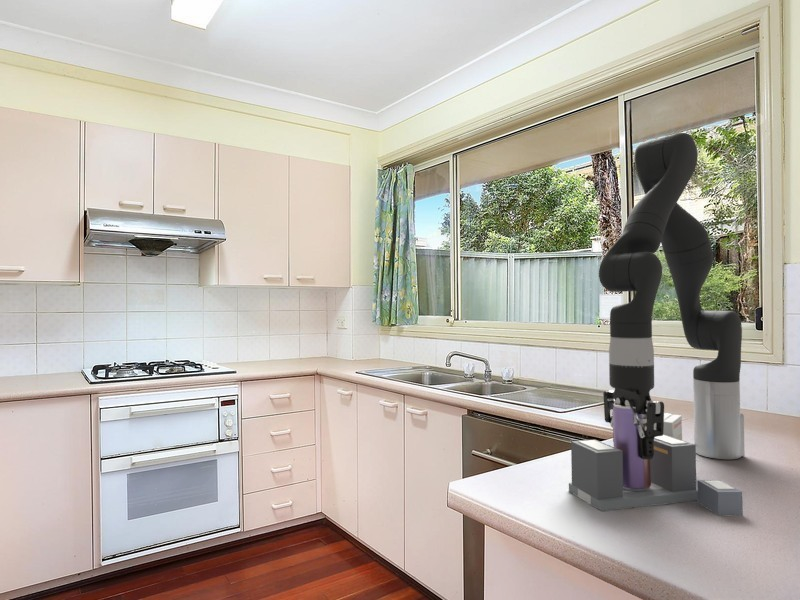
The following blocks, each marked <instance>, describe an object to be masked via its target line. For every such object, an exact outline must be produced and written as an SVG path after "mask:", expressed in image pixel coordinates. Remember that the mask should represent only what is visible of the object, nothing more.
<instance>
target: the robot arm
mask: <svg viewBox="0 0 800 600" xmlns="http://www.w3.org/2000/svg"><path fill="white" fill-rule="evenodd" d="M698 155H699V154H698V147H697V145H696V142H695V140H694V138H693V137H692V136H691V135H690V134H689V133H687V132H677V133H673V134H669V135H666V136H662V137H659V138H658V137H657V138H655V139H651V140H649V141H645V142H642V143H640V144H638V145H637V146H636V148H635V151H634V156H633V157H634V158H633V159H634V167H635V172H636V174H637V177H638V179H639V182H640V185H641V187H642V190H643V193H644V195H643V196H642V197H641V198H640V199H639V200H638V202H636V204H635V205H634V206H633V208H632V209H631V211H630V213H629V215H628V217H627V219H626V223H625V225H624V227H623V230H622V233H621V235H620V236H619V237H618V238H617V240H616V241H615V242H614V244H612V245H611V247H610V248H609V250H607V252H606V254H604V256H603V258H602V260H601V262H600V265H599V269H598V280H599V282H600V285H601V286H602V287H603V288H604V289H605V290H606V291H609V292H615V293H616V292H617V293H618V292H635V294H634V296H633V298H632V299H631V301H629V302H626V303H623V304H618V305H615V306H612V308H611V309H610V311H609V322H610V324H609V337H610V338H609V339H610V340H609V348H608V362H609V363H608V364H609V365H608V366H609V367H608V368H609V370H608V371H609V372H608V374H609V380H608V381H609V386H610V387H611V388H613V389H614V390H605V391H603V408H604V409H603V410H604V415H603V416H604V421H605V423H609V424H610V427H611V428H612V429H613V411H612V412H611V410H613V407H614V403H615V404H616V405H617V404H618V405H625V406H627V407H630V408H631V409H632V413H633V424H634V425H635V426H636V427H637V429H638V432H639V435H640V437H639V446H640V458H642V459H652V458H653V455H654V437H657V436H663V429H664V413H665V403H664V402H663V401H655V400H652V398H651V395H650V394H651V393H650V392H651V390H653V389H654V388H655V356H654V355H655V353H654V352H655V351H654V350H655V349H654V343H653V324H652V322H653V320H652V319H653V318H652V317H653V310H654V306H655V301H656V298H657V295H658V290H659V288H660V284H661V280H662V278H663V277H662V276H663V266H662V262H661V260H660V258H659V257H658V256H657V255H656V252H658V250H659V249H660V246H661V247H662V252H663V254H664V258H665V261H666V264H667V267H668V270H669V272H670V276H671V280H672V283H673V286H674V290H675V293H676V294H675V295H676V297H677V302H678V308H679V314H680V318H681V319H680V320H681V324H682V329H683V332H684V337H685V340H686V342H687V343H688V344H689V346H690V347H691V348H692V349H696V350H704V351H706V350H707V351H718V352H717V356H716V358H715V359H714V360H712V361H710V362H707V363H702V364H699V365H695V366H694V368H693V371H692V373H693V374H692V375H693V376H692V377H693V378H692V380H693V385H692V386H693V431H694V432H693V433H694V435H693V437H694V442H693V444H695V445H696V454H697V455H699V456H703V457H706V458H710V459H711V458H712V459H718V460H738V459H740V458H742V457H745V416H744V414H743V413H741V394H740V393H741V388H740V387H741V383H740V380H741V379H740V376H741V375H740V374H741V368H742V367H741V366H742V365H741V363H742V342H743V341H742V339H743V326H742V320H741V318H740V316H739V314H738V313H737V312H736V311H733V310H704V309H703V308H702V305H701V299H700V298H701V297H700V296H701V290H702V288H703V286H704V284H705V281H706V279H707V278H708V276H709V273H710V272H711V269H712V267H713V263H714V258H715V257H714V252H713V249H712V245H711V241H710V236H709V234H708V231H707V229H706V228H705V226H704V225H703V223H701V222H700V221H699V220H698V219H697V218H695V217H694V216H693V215H692V214H690V212H689V211H687V210H686V209H685V208H683V207H682V206H681V205H680V204H679V203H678V201H679V200H680V198H681V197H682V194H683V192H684V191H685V189H686V187H687V186H688V184H689V182H690V180H691V178H692V176H693V175H694V172H695V170H696V168H697V164H698V158H699V156H698ZM633 407H636V408H633ZM635 409H636V410H635ZM636 412H637V413H638V414H644V415H645V414H646V413H647V419H639V418H638V416H637V413H636ZM654 423H656V429H654ZM643 425H646V427H647V430H645V429H644V426H643ZM612 442H613V443H614V433H613V432H612Z"/></svg>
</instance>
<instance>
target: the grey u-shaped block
mask: <svg viewBox="0 0 800 600" xmlns="http://www.w3.org/2000/svg"><path fill="white" fill-rule="evenodd" d="M570 443H571V445H570V448H571V452H570V453H571V461H570V462H571V482H568V491H569V493H571V494H573V495H575V496H576V497H578V498H579V499H581V500H582V501H584V502H586V503H587V504H589V505H591V506H592V507H594V508H596V509H597V510H598V511H601V512H602V511H603V512H605V511H613V510H623V509H630V508H632V507H633V508H639V507H641V506H642V507H650V506H658V505H667V504H668V505H669V504H677V503H685V502H694V501H695V502H696V501H698V489H697V455H696V454H697V453H696V445H695V444H694V443H691V442H688V441H685V440H683V439H682V440H679V439H676V438H673V437H670V436H667V435H663V436H657V437H654V455H653V458H652V459H650V471H651V486H650V488H649V489H648V490H646V491H628V490H624V489H623V454H622V450H619V449H617V448H615V447H614V446H612V445H609V444H606V443H605V442H602V441H600V440H597V439H586V440H585V439H584V440H572V441H571V442H570Z"/></svg>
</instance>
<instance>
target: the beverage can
mask: <svg viewBox="0 0 800 600" xmlns="http://www.w3.org/2000/svg"><path fill="white" fill-rule="evenodd" d="M633 408H636V407H633ZM635 410H636V409H635ZM612 412H613V415H612V416H613V428H612V434H613V433H614V442H613V447H615V448H617V449H619V450H622V454H623V489H624V490H628V491H646V490H648V489H649V488H650V486H651V471H650V459H642V458H640V446H639V437H640V435H639V432H638V429H637V427H636V426H635V425H634V424H633V413H632V409H631V408H630V407H627V406H625V405H618V404H617V405H616V404H615V403H614V407H613V409H612ZM636 413H637V412H636ZM637 416H638V418H639V419H647V413H646V414H645V415H644V414H638V413H637ZM643 426H644V429H645V430H647V427H646V425H643Z"/></svg>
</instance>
